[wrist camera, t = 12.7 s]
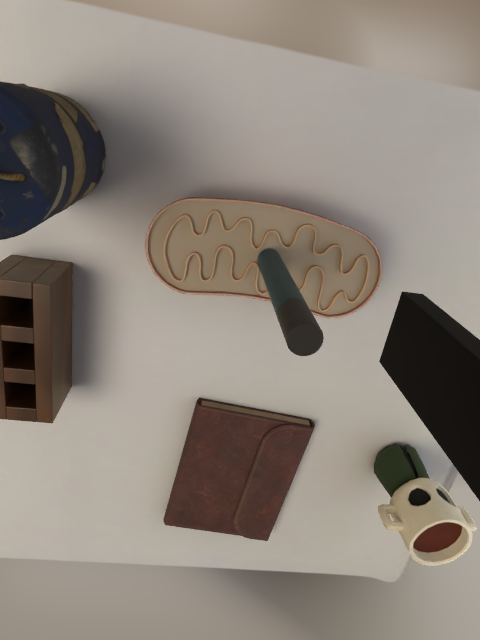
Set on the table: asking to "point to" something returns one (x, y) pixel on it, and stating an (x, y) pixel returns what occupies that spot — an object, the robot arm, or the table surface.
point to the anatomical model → (249, 240)
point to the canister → (44, 156)
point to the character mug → (421, 509)
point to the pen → (289, 305)
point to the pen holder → (35, 337)
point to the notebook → (236, 469)
